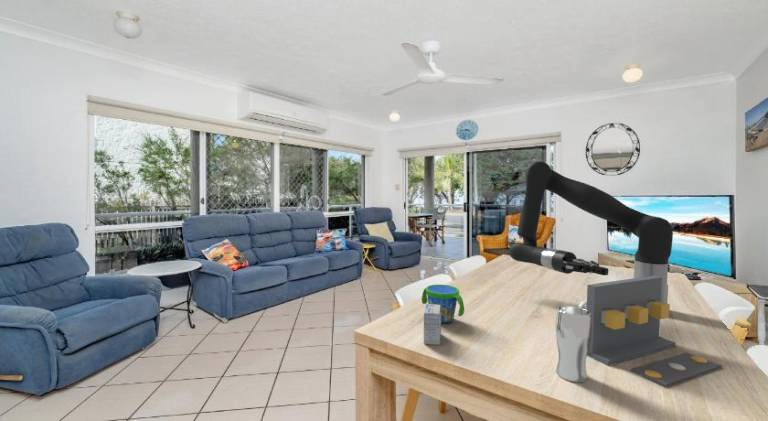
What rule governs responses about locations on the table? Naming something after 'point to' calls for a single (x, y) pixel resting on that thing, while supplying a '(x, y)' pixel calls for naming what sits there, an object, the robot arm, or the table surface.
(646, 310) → the middle button
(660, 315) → the button
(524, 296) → the table surface
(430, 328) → the medicine box
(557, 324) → the silver metal cup
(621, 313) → the button
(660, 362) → the pattern card
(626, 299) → the button panel
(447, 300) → the snack cup
